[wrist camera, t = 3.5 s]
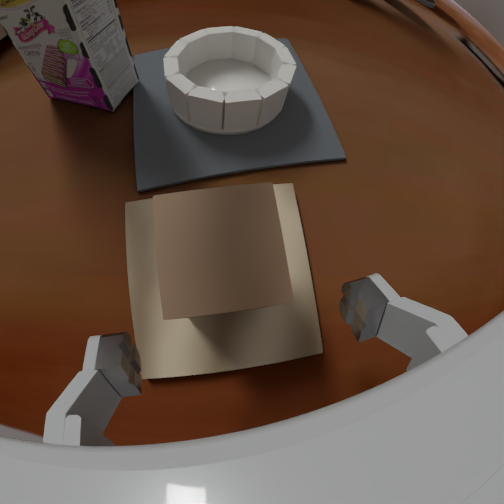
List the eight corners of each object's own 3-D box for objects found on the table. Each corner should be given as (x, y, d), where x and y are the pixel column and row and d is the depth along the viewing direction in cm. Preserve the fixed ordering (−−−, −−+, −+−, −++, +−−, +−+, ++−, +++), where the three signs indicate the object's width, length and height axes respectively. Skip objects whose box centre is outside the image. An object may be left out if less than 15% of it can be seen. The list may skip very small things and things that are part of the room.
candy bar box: (47, 100, 22) (-15, 2, 6) (73, 70, 24) (27, -30, 8) (113, 116, 22) (51, -26, 6) (142, 80, 23) (107, -57, 7)
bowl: (174, 145, 22) (167, 112, 18) (166, 65, 24) (161, 34, 20) (299, 128, 24) (312, 97, 20) (267, 55, 26) (274, 25, 22)
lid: (146, 375, 19) (90, 420, 9) (129, 208, 21) (78, 136, 11) (317, 350, 21) (392, 372, 11) (288, 189, 23) (332, 111, 13)
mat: (138, 192, 21) (137, 190, 21) (135, 57, 25) (134, 55, 24) (344, 159, 24) (346, 157, 24) (286, 41, 28) (287, 38, 27)
